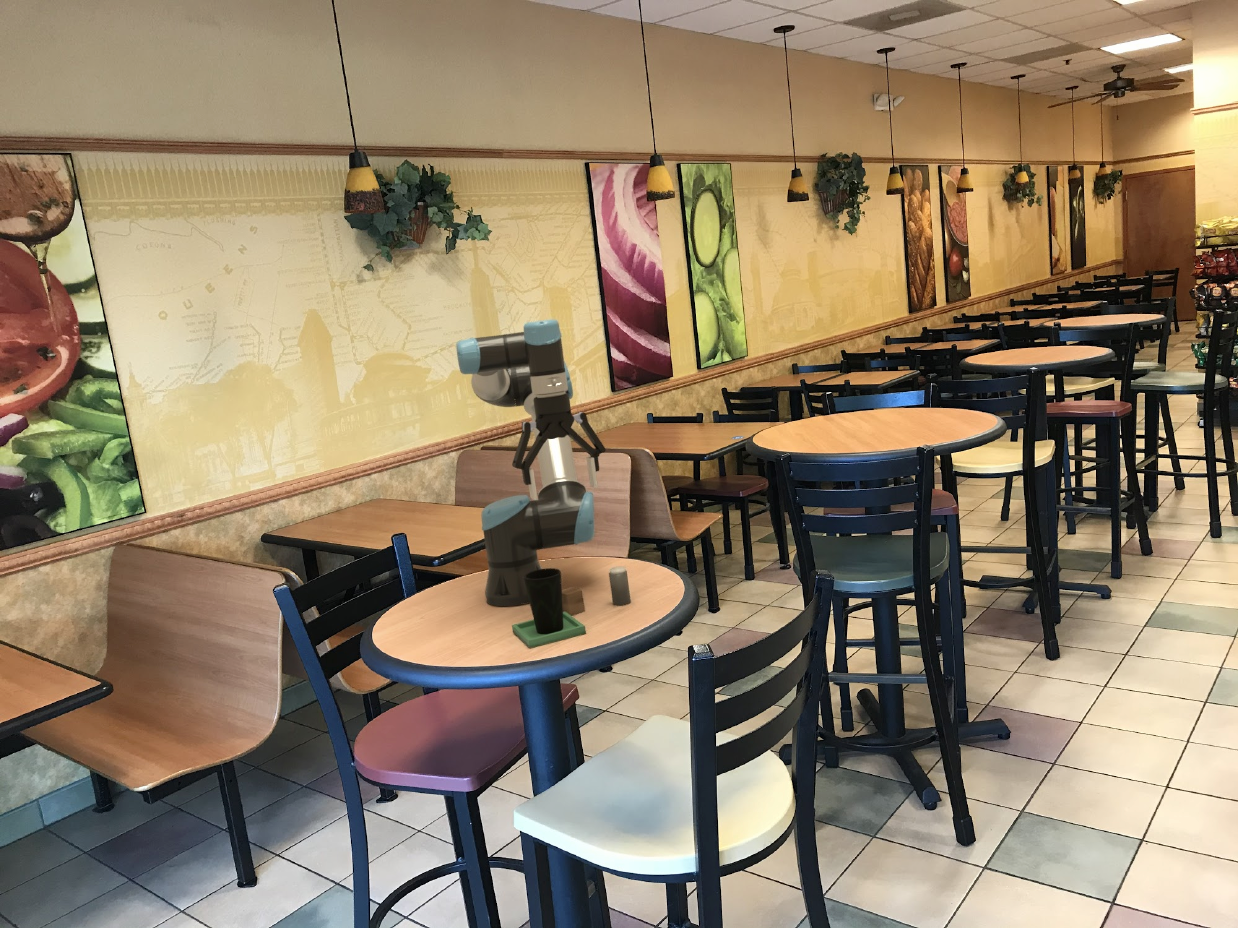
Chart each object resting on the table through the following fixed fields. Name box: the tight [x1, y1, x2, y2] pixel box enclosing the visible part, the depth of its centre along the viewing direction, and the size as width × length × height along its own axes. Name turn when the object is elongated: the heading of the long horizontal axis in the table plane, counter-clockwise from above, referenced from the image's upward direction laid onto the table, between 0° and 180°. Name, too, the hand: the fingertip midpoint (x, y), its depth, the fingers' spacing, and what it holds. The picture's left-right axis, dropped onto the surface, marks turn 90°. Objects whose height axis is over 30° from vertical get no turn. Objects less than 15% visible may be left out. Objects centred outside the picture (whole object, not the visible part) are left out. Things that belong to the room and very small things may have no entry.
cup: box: [524, 567, 563, 634], centre depth 192 cm, size 8×8×12 cm
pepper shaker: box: [608, 566, 632, 607], centre depth 206 cm, size 4×4×8 cm
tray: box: [511, 612, 587, 649], centre depth 193 cm, size 12×12×2 cm
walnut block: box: [562, 586, 586, 617], centre depth 204 cm, size 4×4×5 cm
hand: (564, 493), depth 199 cm, fingers open, 13 cm apart
